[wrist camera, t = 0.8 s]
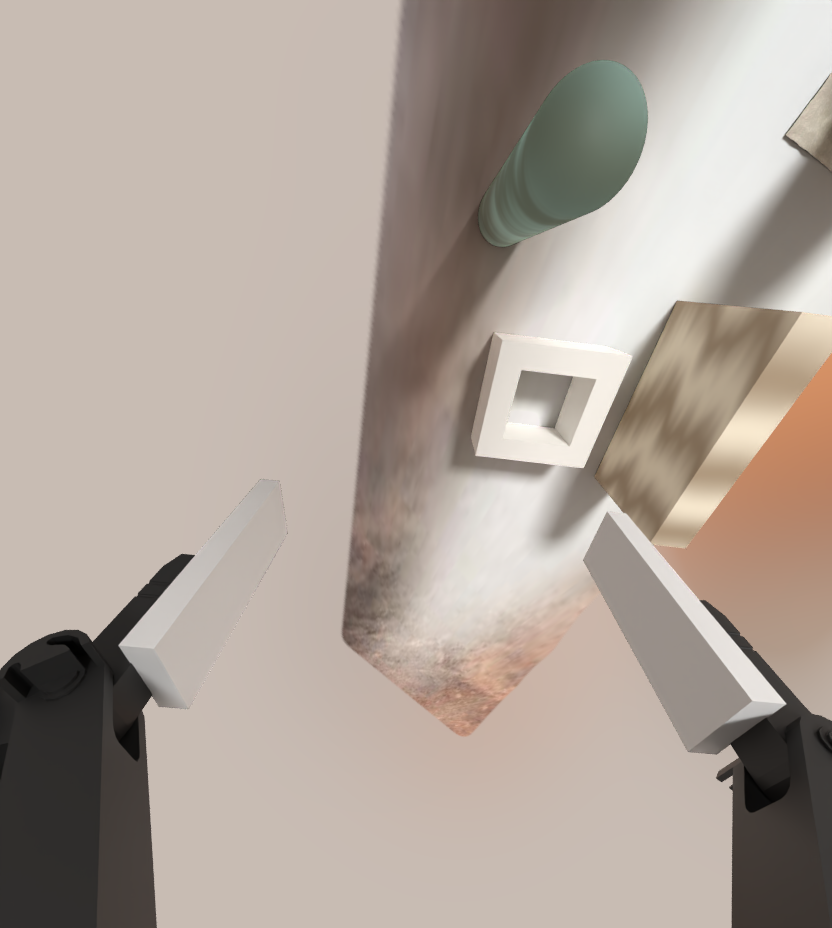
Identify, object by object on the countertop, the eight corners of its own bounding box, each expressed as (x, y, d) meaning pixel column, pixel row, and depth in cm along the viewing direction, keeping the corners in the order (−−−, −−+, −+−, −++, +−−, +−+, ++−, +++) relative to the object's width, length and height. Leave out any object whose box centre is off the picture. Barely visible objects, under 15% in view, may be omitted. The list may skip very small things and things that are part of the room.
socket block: (493, 332, 27) (502, 339, 24) (607, 346, 28) (633, 356, 24) (470, 436, 32) (475, 455, 29) (567, 448, 33) (583, 468, 29)
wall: (677, 300, 26) (802, 312, 17) (713, 305, 26) (856, 319, 17) (594, 477, 34) (649, 544, 26) (621, 480, 34) (685, 548, 26)
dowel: (484, 174, 22) (548, 51, 10) (540, 182, 22) (670, 69, 10) (473, 243, 24) (514, 209, 12) (524, 250, 24) (617, 222, 12)
